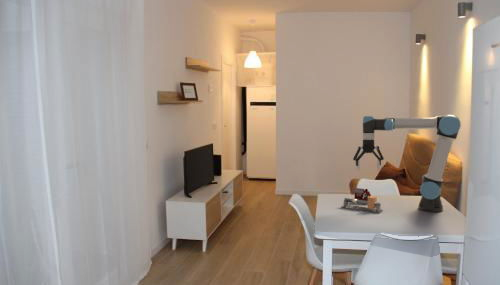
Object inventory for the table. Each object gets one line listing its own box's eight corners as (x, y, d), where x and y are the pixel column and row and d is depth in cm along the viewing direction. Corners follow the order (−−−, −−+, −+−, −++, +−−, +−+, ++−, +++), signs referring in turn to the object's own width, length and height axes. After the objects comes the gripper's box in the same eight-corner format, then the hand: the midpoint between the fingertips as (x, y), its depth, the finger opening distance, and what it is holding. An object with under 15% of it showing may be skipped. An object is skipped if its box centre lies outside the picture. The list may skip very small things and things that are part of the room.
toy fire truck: (370, 205, 304) (370, 190, 303) (352, 203, 310) (353, 188, 308) (372, 202, 310) (372, 188, 309) (354, 200, 316) (355, 186, 315)
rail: (382, 211, 288) (383, 201, 287) (378, 213, 281) (379, 204, 280) (345, 205, 302) (345, 196, 302) (341, 208, 296) (341, 198, 295)
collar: (376, 207, 289) (376, 196, 288) (373, 209, 284) (373, 198, 283) (370, 206, 291) (370, 195, 290) (367, 208, 286) (367, 197, 286)
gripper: (384, 138, 296) (384, 169, 298) (348, 139, 295) (348, 170, 297) (388, 139, 288) (388, 170, 290) (351, 140, 287) (351, 171, 289)
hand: (368, 170), depth 293 cm, fingers open, 13 cm apart
